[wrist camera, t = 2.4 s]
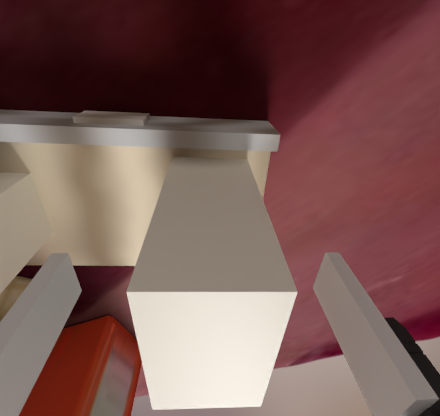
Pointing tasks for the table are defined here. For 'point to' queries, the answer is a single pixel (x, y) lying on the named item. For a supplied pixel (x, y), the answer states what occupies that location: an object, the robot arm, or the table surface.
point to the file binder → (88, 372)
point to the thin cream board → (115, 171)
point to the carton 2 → (210, 289)
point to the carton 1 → (20, 224)
